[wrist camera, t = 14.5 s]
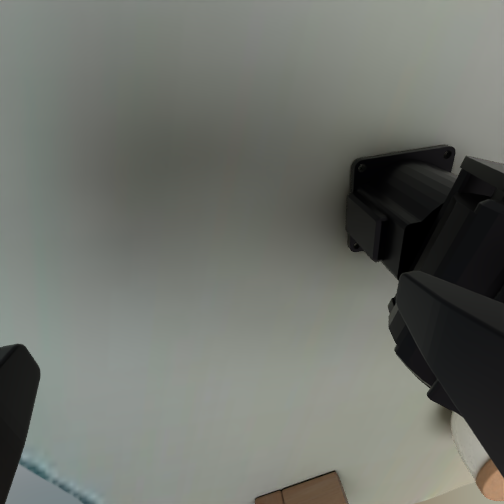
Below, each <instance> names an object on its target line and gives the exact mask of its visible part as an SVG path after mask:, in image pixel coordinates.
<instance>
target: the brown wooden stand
mask: <svg viewBox="0 0 504 504" xmlns="http://www.w3.org/2000/svg"><path fill="white" fill-rule="evenodd" d="M255 504H349V503H348V501H347V498H346V495H345V492H344V489H343V486H342V483H341V481H340V479H339V477H338V475H337V473H336V472H332V473H329V474H326V475H324V476H321V477H318V478H315V479H312V480H309V481H306V482H303V483H301V484H298V485H295V486H292V487H289V488H286V489H283V490H282V492H281V491H276V492H273V493H270V494H267V495H265V496H262V497H259V498H256V499H255Z"/></svg>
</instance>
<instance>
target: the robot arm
mask: <svg viewBox="0 0 504 504" xmlns="http://www.w3.org/2000/svg"><path fill="white" fill-rule="evenodd" d="M446 151H447V154H446V156H444V153H445V152H446ZM454 157H455V148H454V147H452V146H449V145H442V146H435V147H429V148H422V149H416V150H409V151H403V152H396V153H390V154H383V155H377V156H371V157H364V158H359V159H357V160H355V161H354V163H353V164H352V172H351V191H350V193H349V195H348V196H347V208H346V231H347V232H348V247H349V248H350V250H351V251H353V252H359V251H365V252H366V253H367V255H368V256H369V257H370V258H371V259H372V260H373V261H375V262H379V261H381V262H382V263H383V264H384V265H385V266H386V268H387V269H388V270H389V271H390V272H391V273H392V274H393V275H394V276H395V277H396V278H397V279H398V280H399V283H398V289H397V293H396V295H395V297H394V298H392V299H391V301H390V303H389V305H388V309H389V312H390V315H389V330H390V332H391V334H392V336H393V339H394V341H395V343H396V344H397V345H396V347H395V352H396V354H397V356H398V357H399V358H400V360H401V361H402V362H403V363H404V364H405V366H406V367H407V368H408V369H409V370H410V371H411V372H412V373H413V374H414V375H415V376H416V377H417V378H418V379H419V380H420V381H421V382H423V383H424V384H425V385H426V386H428V387H429V388H430V389H429V391H428V392H427V396H428V398H429V399H430V400H432V401H434V402H436V403H438V404H440V405H442V406H444V407H446V408H448V409H450V410H452V411H454V412H456V413H457V414H459V415H460V416H462V417H463V418H464V420H465V421H466V423H467V424H468V426H469V427H470V429H471V430H472V432H473V433H474V435H475V436H476V438H477V439H478V441H479V442H480V444H481V445H482V447H483V448H484V450H485V451H486V453H487V454H488V456H489V457H490V459H491V460H492V462H493V463H494V465H495V466H496V468H497V469H498V471H499V472H500V474H501V475H502V477H503V478H504V164H502V163H497V162H493V161H488V160H483V159H479V158H474V157H470V156H466V157H465V158H464V160H463V162H462V164H461V166H460V168H462V169H461V171H460V173H459V175H458V176H457V175H455V174H452V173H451V171H452V166H453V162H454ZM361 164H363V165H364V166H363V168H362V169H361V170H358V168H359V166H360V165H361ZM355 243H358V244H357V245H356V246H354V244H355ZM39 381H40V368H39V366H38V364H37V363H36V361H35V360H34V358H33V357H32V356H31V354H30V353H29V351H28V350H27V348H26V347H25V346H24V345H22V344H14V345H8V346H3V347H0V504H5V502H6V499H7V496H8V493H9V490H10V487H11V484H12V481H13V478H14V475H15V472H16V469H17V466H18V463H19V460H20V458H21V454H22V451H23V448H24V445H25V441H26V437H27V433H28V429H29V425H30V420H31V416H32V411H33V407H34V403H35V398H36V394H37V389H38V385H39Z"/></svg>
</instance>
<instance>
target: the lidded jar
mask: <svg viewBox="0 0 504 504" xmlns="http://www.w3.org/2000/svg"><path fill="white" fill-rule="evenodd" d="M451 433H452V437H453V441H454V443H455V445H456V448H457V450H458V453H459V455H460V456H461V458H462V460H463V462H464V464H465V466H466V467H467V469H468V470H469V472H470V474H471V475H472V477H473V478H474V479H475V481H476V484H477V486H478V488H479V489H480V491H481V492H482V494H483V495H484V496H485V497H486V498H488V499H490V500H494V501H504V478H503V477H502V475H501V474H500V472H499V471H498V469H497V468H496V466H495V465H494V463H493V462H492V460H491V459H490V457H489V456H488V454H487V453H486V451H485V450H484V448H483V447H482V445H481V444H480V442H479V441H478V439H477V438H476V436H475V435H474V433H473V432H472V430H471V429H470V427H469V426H468V424H467V423H466V421H465V420H464V418H463V417H462V416H460V415H459V414H457V413H456V412H454V411H452V416H451Z"/></svg>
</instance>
